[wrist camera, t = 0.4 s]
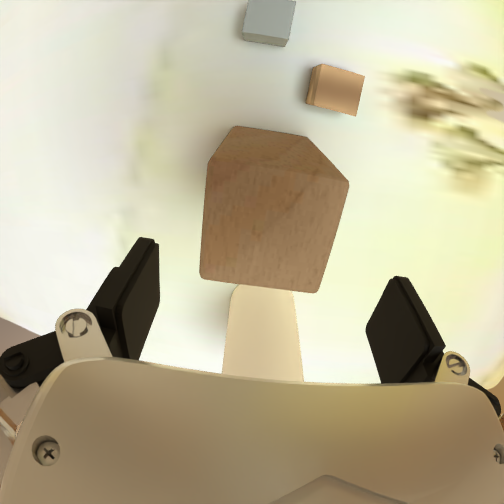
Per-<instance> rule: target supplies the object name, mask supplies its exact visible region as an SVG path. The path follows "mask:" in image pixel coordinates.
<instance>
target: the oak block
mask: <svg viewBox="0 0 504 504" xmlns="http://www.w3.org/2000/svg"><path fill="white" fill-rule="evenodd" d="M364 77H365V76H362V75H359V74H356V73H353V72H350V71H346V70H343V69H339V68H336V67H332V66H328V65H325V64H320V65H318V66H316V67H313V70H312V75H311V80H310V85H309V90H308V94H307V99H306V104H310V105H314V106H318V107H322V108H326V109H330V110H334V111H338V112H342V113H345V114H349V115H352V116H356V114H357V110H358V105H359V101H360V96H361V92H362V87H363V82H364Z"/></svg>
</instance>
